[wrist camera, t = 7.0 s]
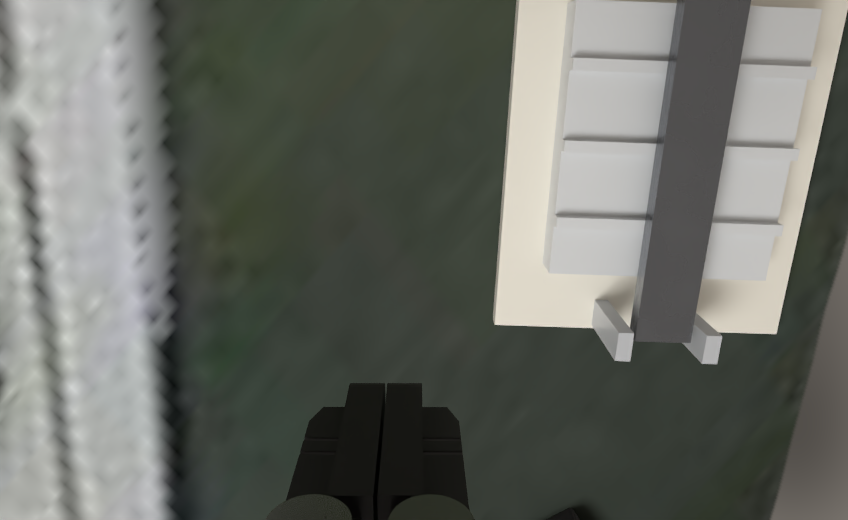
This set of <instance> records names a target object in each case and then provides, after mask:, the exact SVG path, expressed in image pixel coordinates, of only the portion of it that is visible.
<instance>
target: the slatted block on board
mask: <svg viewBox="0 0 848 520" xmlns="http://www.w3.org/2000/svg"><path fill="white" fill-rule="evenodd" d="M676 5H677V0H517V1H516V15H515V28H514V41H513V55H512V68H511V82H510V95H509V109H508V122H507V135H506V149H505V162H504V176H503V189H502V203H501V216H500V229H499V243H498V256H497V270H496V283H495V296H494V310H493V321H494V324H495V325H516V326H546V327H576V328H594V330H595V331H596V333H597V334H598V336H599V337H600V339H601V340H602V342H603V343H604V345H605V346H606V348H607V349H608V351H609V352H610V354H611V356H612V357H613V359H614V360H615V361H630V359H631V352H632V345H633V338H634V332H633V331H632V330H631V329H630V323H631V316H632V309H633V302H634V295H635V288H636V281H637V274H638V268H639V261H640V254H641V247H642V240H643V233H644V226H645V219H646V212H647V205H648V198H649V191H650V185H651V178H652V171H653V164H654V157H655V150H656V143H657V136H658V129H659V122H660V115H661V109H662V102H663V95H664V88H665V81H666V74H667V67H668V60H669V53H670V46H671V39H672V33H673V26H674V19H675V12H676ZM847 10H848V0H751V5H750V10H749V16H748V22H747V27H746V33H745V39H744V44H743V50H742V55H741V61H740V67H739V72H738V78H737V84H736V89H735V95H734V101H733V106H732V112H731V118H730V123H729V129H728V135H727V140H726V146H725V151H724V157H723V163H722V168H721V174H720V180H719V185H718V191H717V197H716V202H715V208H714V214H713V219H712V225H711V231H710V236H709V242H708V247H707V253H706V259H705V264H704V270H703V276H702V281H701V287H700V293H699V298H698V304H697V310H696V315H695V321H694V327H693V332H692V338H691V343H683V344H684V345H685V346H686V347H687V348H688V349H689V351H690V352H691V353H692V354H693V355H694V356H695V357H696V358H697V359H698V360H699V361H700V362H701V363H702V364H717V361H718V356H719V351H720V346H721V341H722V336H721V335H720V334H719V333H718V332H727V333H757V334H776V333H777V329H778V324H779V319H780V315H781V310H782V306H783V301H784V297H785V292H786V288H787V283H788V279H789V274H790V269H791V265H792V260H793V256H794V251H795V247H796V242H797V238H798V233H799V229H800V224H801V220H802V215H803V210H804V206H805V201H806V197H807V192H808V188H809V183H810V179H811V174H812V170H813V165H814V160H815V156H816V151H817V147H818V142H819V138H820V133H821V129H822V124H823V120H824V115H825V110H826V106H827V101H828V97H829V92H830V88H831V83H832V79H833V74H834V70H835V65H836V60H837V56H838V51H839V47H840V42H841V38H842V33H843V29H844V24H845V20H846V15H847Z"/></svg>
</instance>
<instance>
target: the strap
mask: <svg viewBox="0 0 848 520" xmlns="http://www.w3.org/2000/svg"><path fill="white" fill-rule="evenodd" d="M750 5H751V0H677V5H676V12H675V19H674V26H673V33H672V39H671V46H670V53H669V60H668V67H667V74H666V81H665V88H664V95H663V102H662V109H661V115H660V122H659V129H658V136H657V143H656V150H655V157H654V164H653V171H652V178H651V185H650V191H649V198H648V205H647V212H646V219H645V226H644V233H643V240H642V247H641V254H640V261H639V268H638V274H637V281H636V288H635V295H634V302H633V309H632V316H631V323H630V329H631V330H632V331H633V332H634V338H633V340H634V341H641V342H672V343H691V338H692V332H693V327H694V321H695V315H696V310H697V304H698V298H699V293H700V287H701V281H702V276H703V270H704V264H705V259H706V253H707V247H708V242H709V236H710V231H711V225H712V219H713V214H714V208H715V202H716V197H717V191H718V185H719V180H720V174H721V168H722V163H723V157H724V151H725V146H726V140H727V135H728V129H729V123H730V118H731V112H732V106H733V101H734V95H735V89H736V84H737V78H738V72H739V67H740V61H741V55H742V50H743V44H744V39H745V33H746V27H747V22H748V16H749V10H750Z"/></svg>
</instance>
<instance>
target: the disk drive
mask: <svg viewBox="0 0 848 520" xmlns="http://www.w3.org/2000/svg"><path fill="white" fill-rule="evenodd" d="M546 520H580V519H579V517H578V516H577V514H576V513H575V511H574V510H573V509H572V508H568V509H566V510H565V511H562V512H560V513H558V514H557V515H554V516H553V517H551V518H549V519H546Z"/></svg>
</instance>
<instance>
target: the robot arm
mask: <svg viewBox="0 0 848 520" xmlns="http://www.w3.org/2000/svg"><path fill="white" fill-rule="evenodd" d="M266 520H475V519H474V517H473V515H472V514H471V512H470V510H469V505H468V497H467V488H466V479H465V471H464V462H463V455H462V445H461V436H460V427H459V421H458V420H457V419H456V417H455V416H454V415H453V414H452V413H451V411H450V410H449V409H448V408H447V407H422V383H388V384H387V394H386V405H385V383H350V385H349V390H348V395H347V400H346V405H345V407H323V408H322V409H321V410H320V411H319V412H318V413H317V414H316V415H315V416H314V417H313V418H312V419H311V420H310V421H309V424H308V427H307V431H306V434H305V439H304V441H303V444H302V448H301V453H300V455H299V458H298V461H297V465H296V468H295V472H294V475H293V478H292V482H291V485H290V489H289V492H288V495H287V499H286V501H285V502H283V503H281V504H280V505H278V506H277V507H275V508H274V509H273V510H272V511H271V512H270V513H269V515H268V516H267V518H266Z"/></svg>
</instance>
